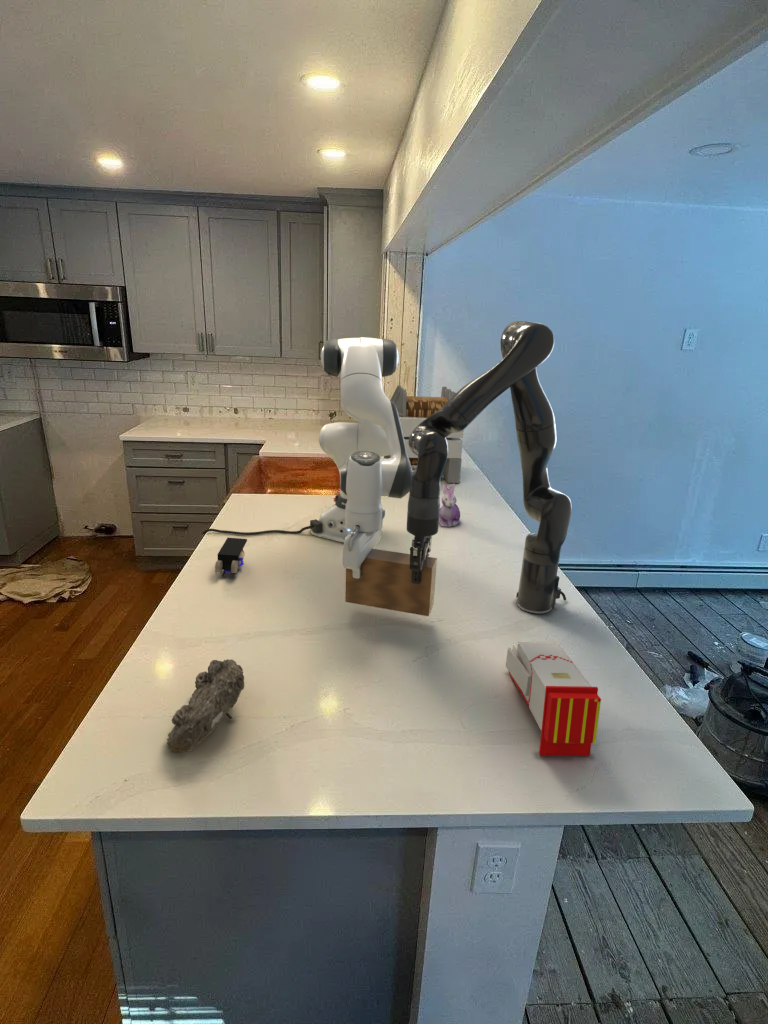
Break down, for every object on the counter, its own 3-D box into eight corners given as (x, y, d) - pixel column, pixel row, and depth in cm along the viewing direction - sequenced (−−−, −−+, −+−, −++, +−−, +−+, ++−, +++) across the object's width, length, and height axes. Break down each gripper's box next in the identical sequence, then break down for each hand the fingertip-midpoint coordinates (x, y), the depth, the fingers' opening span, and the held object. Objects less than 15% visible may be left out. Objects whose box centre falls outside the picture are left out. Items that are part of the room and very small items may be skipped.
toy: (554, 624, 127) (610, 694, 97) (548, 679, 130) (602, 763, 100) (500, 623, 126) (541, 693, 97) (496, 678, 129) (534, 763, 100)
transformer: (382, 463, 289) (386, 382, 275) (445, 464, 293) (451, 384, 279) (390, 482, 257) (394, 392, 243) (460, 483, 261) (468, 394, 247)
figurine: (445, 529, 206) (449, 489, 200) (430, 519, 214) (433, 481, 209) (467, 525, 210) (470, 487, 205) (451, 516, 218) (454, 479, 213)
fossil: (192, 660, 117) (244, 628, 112) (224, 691, 120) (276, 661, 115) (142, 746, 98) (202, 712, 93) (182, 779, 101) (242, 748, 96)
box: (345, 602, 143) (345, 554, 138) (352, 591, 148) (353, 545, 144) (428, 616, 138) (432, 568, 133) (433, 604, 143) (437, 557, 139)
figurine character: (238, 584, 162) (249, 557, 175) (236, 562, 158) (247, 536, 172) (215, 584, 161) (227, 556, 175) (212, 561, 158) (225, 535, 171)
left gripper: (362, 536, 127) (360, 591, 132) (387, 508, 146) (384, 557, 151) (336, 532, 129) (335, 586, 134) (363, 504, 147) (362, 553, 152)
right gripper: (433, 525, 125) (428, 592, 131) (444, 505, 138) (439, 567, 144) (400, 520, 127) (396, 587, 133) (414, 501, 140) (411, 563, 146)
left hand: (361, 570), depth 142 cm, fingers closed on box, 6 cm apart
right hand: (419, 576), depth 138 cm, fingers closed on box, 6 cm apart
